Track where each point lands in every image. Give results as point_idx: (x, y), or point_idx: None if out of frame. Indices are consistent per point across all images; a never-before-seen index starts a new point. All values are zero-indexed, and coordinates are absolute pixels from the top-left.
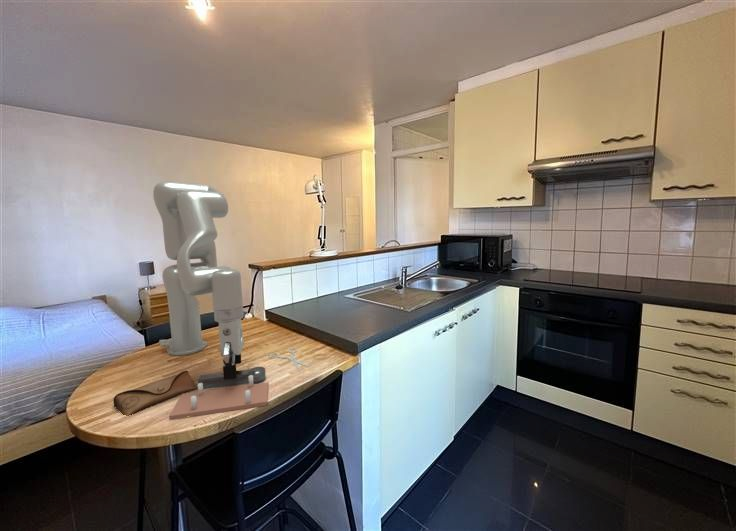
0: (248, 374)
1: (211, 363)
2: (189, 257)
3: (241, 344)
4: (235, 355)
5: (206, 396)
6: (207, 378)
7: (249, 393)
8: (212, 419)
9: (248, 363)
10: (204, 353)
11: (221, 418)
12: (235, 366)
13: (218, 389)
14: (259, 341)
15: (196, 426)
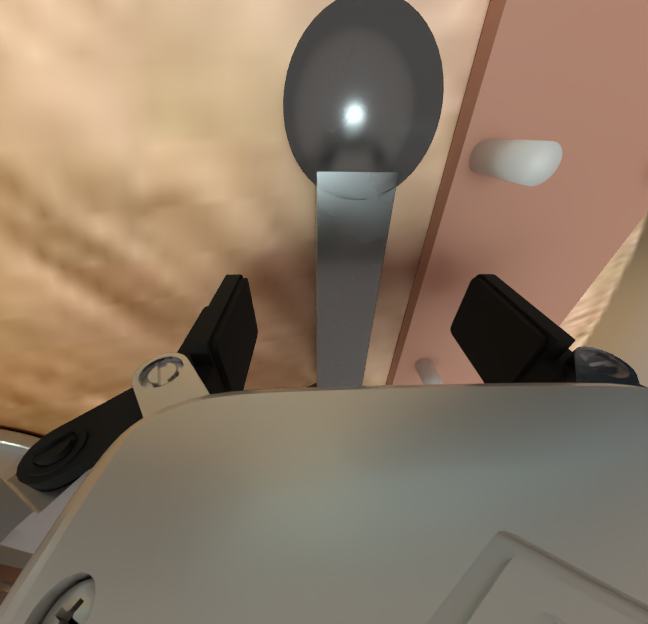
0: (391, 192)
1: (126, 378)
2: None
3: (573, 518)
4: (236, 349)
5: (450, 346)
6: (360, 382)
7: None
8: (595, 296)
9: (82, 212)
10: (31, 414)
11: (620, 269)
12: (555, 327)
13: (416, 320)
14: None
15: (591, 330)
